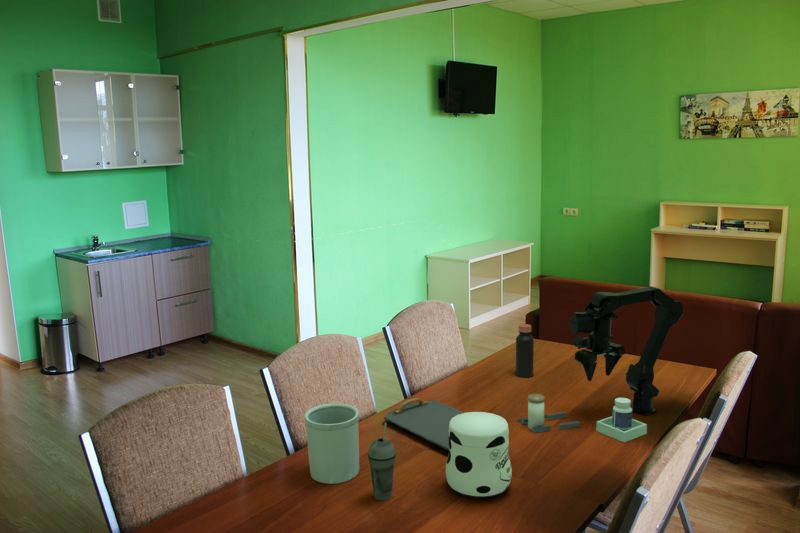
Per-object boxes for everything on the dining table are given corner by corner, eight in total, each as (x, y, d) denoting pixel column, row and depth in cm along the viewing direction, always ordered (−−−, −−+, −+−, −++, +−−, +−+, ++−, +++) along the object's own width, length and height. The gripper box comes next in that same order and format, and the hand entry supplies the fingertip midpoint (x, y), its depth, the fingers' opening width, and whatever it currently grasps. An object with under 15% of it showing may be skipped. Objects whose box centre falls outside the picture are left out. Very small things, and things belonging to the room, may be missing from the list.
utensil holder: (339, 490, 179) (337, 428, 176) (296, 477, 187) (293, 417, 184) (371, 467, 191) (369, 409, 188) (329, 456, 199) (327, 399, 196)
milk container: (523, 497, 174) (523, 431, 170) (460, 508, 169) (459, 441, 166) (495, 467, 190) (495, 406, 187) (436, 477, 185) (435, 415, 182)
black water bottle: (534, 377, 262) (535, 327, 258) (517, 378, 262) (517, 328, 259) (531, 372, 269) (532, 323, 265) (514, 372, 269) (514, 323, 265)
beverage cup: (368, 489, 179) (366, 418, 176) (395, 488, 180) (394, 416, 176) (369, 504, 172) (367, 429, 168) (398, 502, 173) (396, 428, 169)
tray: (618, 422, 218) (618, 413, 218) (646, 433, 210) (647, 424, 209) (596, 430, 212) (596, 421, 212) (624, 442, 204) (624, 432, 203)
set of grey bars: (561, 413, 227) (562, 409, 226) (580, 426, 216) (580, 422, 216) (515, 420, 222) (515, 416, 222) (532, 434, 211) (532, 429, 211)
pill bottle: (635, 432, 210) (636, 401, 208) (620, 435, 207) (622, 404, 206) (622, 425, 215) (623, 395, 213) (608, 428, 212) (609, 398, 211)
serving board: (511, 440, 208) (512, 421, 207) (456, 463, 194) (456, 443, 193) (429, 405, 238) (429, 388, 237) (376, 422, 224) (375, 404, 223)
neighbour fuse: (535, 422, 220) (536, 392, 218) (547, 427, 216) (548, 397, 214) (524, 426, 217) (524, 396, 215) (535, 431, 213) (536, 400, 211)
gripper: (599, 322, 230) (596, 366, 233) (562, 330, 220) (560, 376, 222) (627, 329, 222) (624, 375, 224) (590, 338, 211) (587, 386, 213)
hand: (598, 378), depth 221 cm, fingers open, 9 cm apart
